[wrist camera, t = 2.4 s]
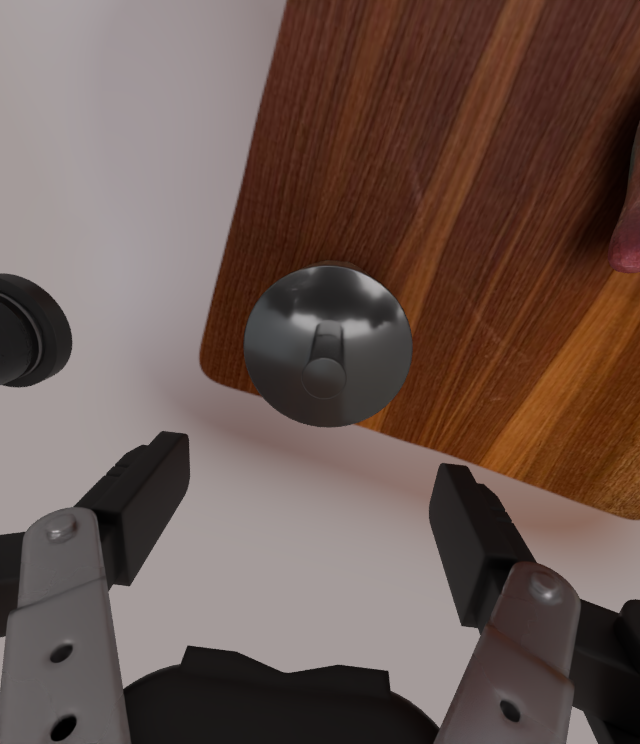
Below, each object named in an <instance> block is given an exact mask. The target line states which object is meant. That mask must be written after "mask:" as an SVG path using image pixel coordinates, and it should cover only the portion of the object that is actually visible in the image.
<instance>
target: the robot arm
mask: <svg viewBox="0 0 640 744" xmlns="http://www.w3.org/2000/svg"><path fill="white" fill-rule="evenodd" d="M44 352H45V342H44V336H43V333H42V330H41V328H40V326H39V324H38V322H37V320H36V319H35V317H34V316H33V314H32V313H31V312H30V311H29V310H28V309H27V308H26V307H25V306H24V305H23V304H22V303H21V302H19V301H18V300H17V299H15V298H14V297H12V296H10V295H8V294H6V293H4V292H1V291H0V385H2V384H5V383H7V382H9V381H11V380H14V379H16V378H20V377H23V376H25V375H28V374H30V373H31V372H33V371H34V370H35V369H37V367H38V366H39V365H40V363H41V362H42V360H43V357H44ZM189 479H190V462H189V438H188V435H187V434H183V433H175V432H166V431H162V432H160V433H159V434H158V435H157V436H156V438H155V439H154V440H153V441H152V442H151V443H150V444H149V445H141V446H139V447H137V448H135V449H134V450H131V451H130V452H128V453H126V454H125V455H124V456H123V457H122V458H121V459H120V460H119V461H118V462H117V463H116V464H115V467H114V466H113V467H112V468H111V469H110V470H109V471H108V472H107V474H106V476H103V477H102V478H101V479H100V480H99V481H98V482H97V483H96V484H95V485H94V486H93V488H91V490H89V492H87V493H86V494H85V495H84V497H82V499H81V500H80V501H79V502H78V503H77V504H76V505H75V506H74V507H71V508H65V509H60V510H57V511H54V512H52V513H49V514H48V515H46V516H44V517H42V518H40V519H39V520H37V521H36V522H35V523H33V524H32V525H31V526H30V527H29V529H28V530H27V531H26V532H21V533H12V534H4V535H0V637H4V636H6V640H5V650H4V659H3V669H2V679H1V688H0V744H566V740H567V734H568V727H569V721H570V715H571V709H572V706H573V707H575V708H577V709H580V710H582V711H583V712H584V714H585V716H586V718H587V720H588V723H589V725H590V727H591V729H592V731H593V734H594V736H595V738H596V740H597V742H598V744H640V600H636V599H635V600H629V601H627V602H626V603H625V604H624V605H623V607H622V609H621V611H620V613H616V612H614V611H611V610H609V609H606V608H603V607H601V606H598V605H595V604H593V603H590V602H587V601H585V600H582V599H580V598H579V596H578V594H577V593H576V591H575V590H574V588H573V587H572V586H571V585H570V583H568V581H567V580H566V579H564V578H563V577H562V576H561V575H559V574H558V573H557V572H555V571H553V570H552V569H550V568H548V567H546V566H544V565H541V564H538V563H537V562H536V560H535V559H534V557H533V555H532V554H531V552H530V550H529V549H528V547H527V545H526V544H525V542H524V540H523V539H522V537H521V535H520V534H519V532H518V530H517V529H516V527H515V525H514V524H513V523H512V520H511V519H510V517H509V515H508V514H507V512H505V508H504V507H503V505H502V503H501V502H500V500H499V498H498V497H497V496H496V495H495V494H494V493H493V492H492V491H491V490H490V489H489V488H487V487H486V486H485V485H484V484H478V483H476V481H475V479H474V477H473V476H472V474H471V472H470V470H469V468H468V467H467V466H463V465H455V464H446V463H442V464H440V466H439V469H438V472H437V476H436V480H435V484H434V488H433V492H432V496H431V500H430V505H429V519H430V524H431V528H432V531H433V535H434V537H435V541H436V544H437V548H438V551H439V554H440V557H441V561H442V564H443V567H444V570H445V574H446V577H447V580H448V583H449V587H450V590H451V593H452V596H453V600H454V603H455V606H456V609H457V613H458V616H459V619H460V623H461V625H462V626H466V627H474V628H478V629H479V632H480V635H481V636H480V638H479V641H478V643H477V645H476V648H475V650H474V652H473V654H472V657H471V659H470V661H469V664H468V666H467V668H466V670H465V673H464V675H463V677H462V680H461V682H460V684H459V686H458V689H457V691H456V693H455V695H454V698H453V700H452V702H451V705H450V707H449V709H448V712H447V714H446V716H445V718H444V720H443V723H442V725H441V727H440V728H439V727H438V726H437V725H436V724H435V723H434V721H433V720H431V719H430V718H429V717H428V716H427V715H426V714H425V713H424V712H423V711H422V710H421V709H419V708H418V707H417V706H415V705H414V704H413V703H411V702H410V701H409V700H407V699H405V698H403V697H402V696H400V695H398V694H396V693H394V692H392V691H390V683H389V673H388V671H384V670H377V669H368V668H361V667H353V666H345V665H334V666H328V667H322V668H316V669H310V670H305V671H298V672H292V673H284V672H281V671H279V670H276V669H274V668H272V667H270V666H267V665H265V664H263V663H261V662H258V661H256V660H254V659H252V658H249V657H247V656H245V655H243V654H240V653H238V652H235V651H226V650H219V649H211V648H203V647H195V646H187V649H186V651H185V654H184V657H183V659H182V662H181V664H179V665H173V666H169V667H166V668H163V669H160V670H157V671H155V672H153V673H150V674H148V675H146V676H144V677H142V678H140V679H138V680H137V681H135V682H133V683H132V684H130V685H129V686H127V687H126V688H124V689H123V686H122V679H121V672H120V666H119V659H118V653H117V647H116V639H115V633H114V626H113V620H112V613H111V606H110V600H109V594H108V591H109V590H110V588H111V587H112V585H113V584H117V585H124V586H130V585H131V583H132V582H133V580H134V578H135V577H136V575H137V573H138V572H139V570H140V568H141V567H142V565H143V564H144V562H145V560H146V558H147V557H148V555H149V554H150V552H151V550H152V549H153V547H154V545H155V544H156V542H157V540H158V539H159V537H160V535H161V534H162V532H163V530H164V529H165V527H166V525H167V524H168V522H169V521H170V519H171V517H172V516H173V514H174V512H175V511H176V509H177V507H178V506H179V504H180V502H181V501H182V499H183V497H184V496H185V494H186V491H187V489H188V485H189Z"/></svg>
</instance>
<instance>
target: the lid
mask: <svg viewBox="0 0 640 744" xmlns="http://www.w3.org/2000/svg"><path fill="white" fill-rule="evenodd" d="M243 344H244V357H245V363H246V367H247V370H248V373H249V375H250V378H251V380H252V382H253V384H254V385H255V387H256V389H257V390H258V392H259V393H260V394H261V396H262V397H263V398H264V399H265V400H266V401H267V402H268V403H269V404H270V405H271V406H272V407H273V408H274V409H276V410H277V411H279V412H280V413H281V414H283V415H285V416H287V417H288V418H290V419H293V420H295V421H297V422H300V423H303V424H307V425H311V426H317V427H341V426H347V425H351V424H354V423H358V422H360V421H363V420H365V419H367V418H369V417H371V416H373V415H374V414H376V413H378V412H379V411H380V410H381V409H383V408H384V407H385V406H386V405H387V404H388V403H389V402H390V401H391V400H392V399H393V398H394V397H395V396H396V394H397V393H398V392H399V390H400V389H401V387H402V385H403V383H404V382H405V379H406V377H407V375H408V372H409V368H410V365H411V360H412V352H413V346H412V335H411V329H410V326H409V322H408V319H407V317H406V315H405V312H404V310H403V308H402V307H401V305H400V304H399V302H398V301H397V299H396V298H395V297H394V296H393V295H392V293H391V292H390V291H389V290H388V289H387V288H386V287H385V286H384V285H382V284H381V283H380V282H379V281H377V280H376V279H374V278H373V277H371V276H370V275H368V274H365V273H363V272H361V271H359V270H356V269H353V268H350V267H345V266H340V265H315V266H310V267H306V268H302V269H299V270H297V271H294V272H291V273H290V274H288V275H286V276H284V277H282V278H281V279H279V280H278V281H277V282H275V283H274V284H273V285H271V286H270V287H269V288H268V289H267V290H266V291H265V292H264V293H263V294H262V296H261V297H260V298H259V300H258V301H257V302H256V304H255V306H254V308H253V309H252V311H251V313H250V316H249V318H248V321H247V324H246V329H245V333H244V343H243Z"/></svg>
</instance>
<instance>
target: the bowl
mask: <svg viewBox="0 0 640 744" xmlns="http://www.w3.org/2000/svg"><path fill="white" fill-rule="evenodd" d="M608 260H609V263H610V266H611V267H612V268H613V269H615V270H616V271H618V272H624V273H637V272H640V121H639V124H638V128H637V131H636V135H635V139H634V144H633V148H632V154H631V162H630V169H629V177H628V186H627V194H626V198H625V202H624V205H623V208H622V211H621V214H620V217H619V220H618V222H617V225H616V227H615V229H614V232H613V234H612V237H611V240H610V244H609V250H608Z"/></svg>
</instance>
